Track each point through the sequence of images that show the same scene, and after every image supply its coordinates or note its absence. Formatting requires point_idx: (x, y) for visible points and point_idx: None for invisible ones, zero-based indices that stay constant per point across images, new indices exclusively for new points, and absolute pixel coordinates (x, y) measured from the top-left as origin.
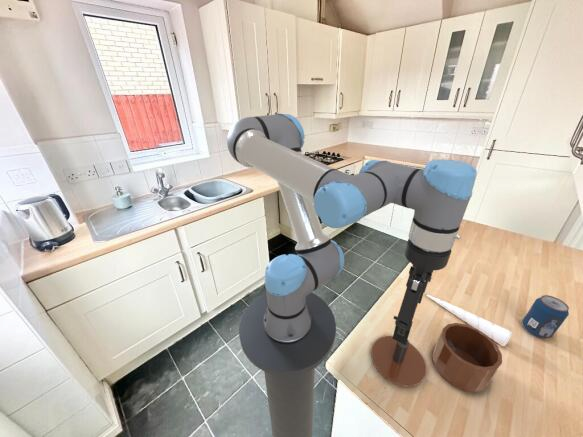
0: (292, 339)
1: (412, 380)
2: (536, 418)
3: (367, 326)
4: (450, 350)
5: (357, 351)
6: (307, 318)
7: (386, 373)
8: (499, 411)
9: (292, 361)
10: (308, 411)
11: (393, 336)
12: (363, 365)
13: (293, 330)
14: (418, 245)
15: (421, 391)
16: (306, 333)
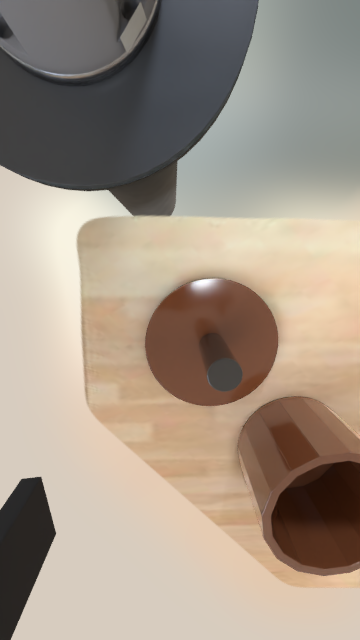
0: (8, 50)
1: (181, 390)
2: (270, 549)
3: (259, 231)
4: (279, 487)
5: (163, 251)
6: (86, 21)
7: (154, 340)
8: (242, 511)
9: None
10: (138, 203)
11: (12, 497)
12: (140, 284)
13: (3, 15)
14: None
15: (179, 406)
16: (75, 78)
